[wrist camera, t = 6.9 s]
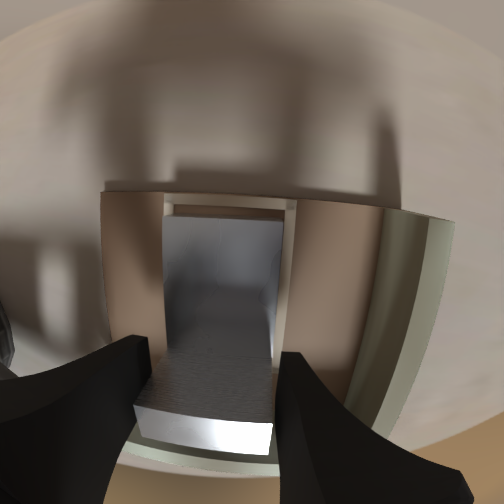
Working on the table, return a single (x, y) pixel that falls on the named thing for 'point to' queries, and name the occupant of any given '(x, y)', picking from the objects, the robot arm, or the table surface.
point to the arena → (295, 300)
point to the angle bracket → (215, 334)
